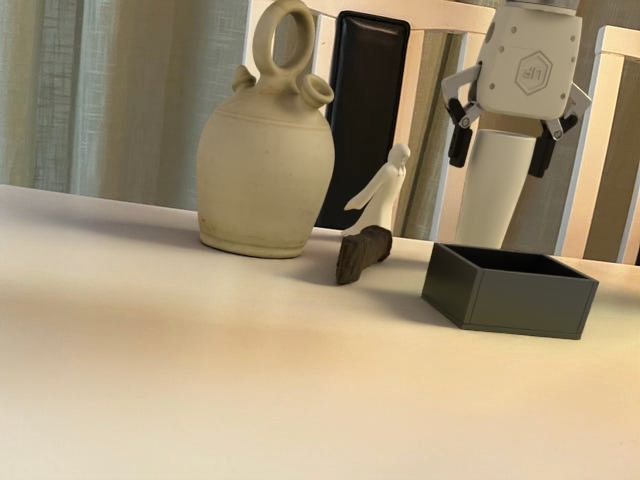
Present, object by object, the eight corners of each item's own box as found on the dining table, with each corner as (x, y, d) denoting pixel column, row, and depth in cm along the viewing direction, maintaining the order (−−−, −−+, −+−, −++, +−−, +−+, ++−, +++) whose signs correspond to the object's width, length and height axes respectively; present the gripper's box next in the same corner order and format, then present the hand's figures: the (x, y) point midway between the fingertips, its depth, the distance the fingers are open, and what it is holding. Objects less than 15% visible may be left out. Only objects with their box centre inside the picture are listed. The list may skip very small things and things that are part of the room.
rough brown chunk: (356, 256, 121) (364, 215, 118) (388, 263, 120) (397, 221, 117) (312, 282, 106) (320, 236, 103) (349, 290, 105) (358, 243, 102)
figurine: (369, 250, 125) (392, 144, 119) (321, 236, 130) (341, 133, 124) (405, 247, 130) (429, 145, 124) (358, 234, 135) (378, 135, 128)
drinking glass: (477, 265, 125) (514, 131, 117) (509, 278, 120) (549, 140, 112) (431, 262, 123) (465, 126, 115) (461, 276, 118) (499, 135, 110)
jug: (339, 265, 115) (391, 9, 102) (216, 259, 110) (254, -12, 96) (281, 236, 127) (321, 3, 114) (167, 229, 121) (195, -16, 108)
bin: (528, 307, 107) (544, 253, 104) (580, 339, 97) (600, 281, 94) (420, 296, 106) (433, 241, 103) (461, 329, 95) (478, 269, 92)
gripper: (480, -16, 102) (435, 167, 111) (635, 8, 105) (579, 185, 114) (454, -16, 108) (413, 157, 117) (601, 7, 111) (550, 175, 120)
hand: (495, 171), depth 116 cm, fingers open, 9 cm apart
